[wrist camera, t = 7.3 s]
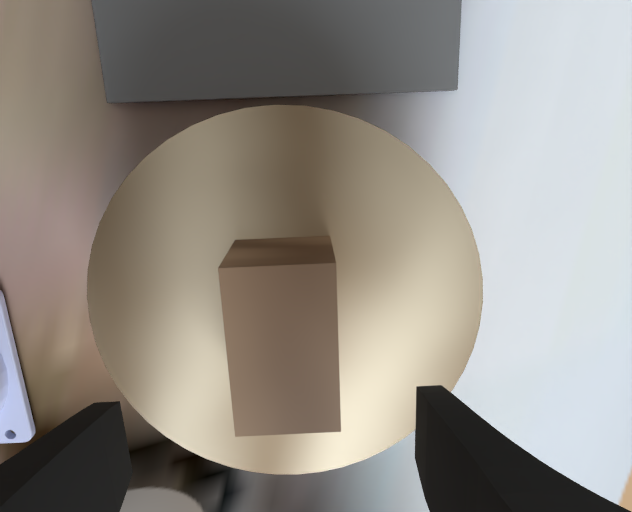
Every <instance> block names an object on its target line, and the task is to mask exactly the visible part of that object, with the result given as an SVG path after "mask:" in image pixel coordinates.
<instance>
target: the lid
mask: <svg viewBox="0 0 632 512" xmlns="http://www.w3.org/2000/svg"><path fill="white" fill-rule="evenodd" d="M87 300H88V309H89V317H90V323H91V327H92V330H93V334H94V338H95V342H96V345H97V347H98V350H99V352H100V355H101V357H102V360H103V362H104V364H105V366H106V368H107V370H108V372H109V373H110V375H111V377H112V379H113V380H114V382H115V384H116V386H117V387H118V388H119V390H120V391H121V392H122V394H123V395H124V396H125V398H126V399H127V400H128V402H129V403H130V404H131V405H132V406H133V407H134V408H135V409H136V410H137V412H138V413H139V414H140V415H141V416H142V417H143V418H144V419H145V420H146V421H147V422H148V423H150V424H151V425H152V426H153V427H155V428H156V429H157V430H158V431H160V432H161V433H162V434H163V435H165V436H166V437H167V438H169V439H171V440H172V441H174V442H175V443H177V444H179V445H180V446H182V447H183V448H185V449H187V450H189V451H191V452H193V453H195V454H197V455H199V456H201V457H204V458H206V459H208V460H211V461H214V462H217V463H220V464H223V465H225V466H228V467H233V468H237V469H241V470H246V471H250V472H258V473H267V474H306V473H316V472H323V471H327V470H332V469H336V468H341V467H345V466H347V465H350V464H353V463H356V462H359V461H362V460H365V459H367V458H369V457H371V456H374V455H376V454H378V453H380V452H382V451H384V450H386V449H388V448H389V447H391V446H393V445H394V444H396V443H397V442H399V441H401V440H402V439H404V438H405V437H407V436H408V435H409V434H410V433H412V432H413V431H414V430H415V429H416V386H433V385H442V386H443V387H444V388H446V389H447V390H448V391H450V392H451V391H452V390H453V388H454V386H455V385H456V383H457V381H458V380H459V378H460V376H461V374H462V373H463V371H464V369H465V367H466V364H467V362H468V360H469V357H470V355H471V353H472V350H473V348H474V344H475V341H476V337H477V333H478V330H479V326H480V319H481V311H482V304H483V278H482V271H481V264H480V257H479V252H478V249H477V246H476V242H475V239H474V235H473V232H472V229H471V227H470V225H469V223H468V220H467V218H466V216H465V214H464V212H463V209H462V207H461V205H460V204H459V202H458V201H457V199H456V198H455V196H454V195H453V193H452V191H451V190H450V188H449V187H448V185H447V184H446V183H445V182H444V180H443V179H442V178H441V177H440V176H439V175H438V174H437V172H436V171H435V170H434V169H433V168H432V167H431V165H430V164H429V163H427V162H426V161H425V160H424V159H423V158H422V157H421V156H419V155H418V154H417V153H416V152H415V151H414V150H413V149H411V148H410V147H409V146H408V145H406V144H405V143H403V142H402V141H400V140H399V139H397V138H396V137H394V136H392V135H391V134H389V133H388V132H386V131H385V130H382V129H380V128H378V127H376V126H374V125H372V124H370V123H368V122H365V121H363V120H361V119H359V118H355V117H352V116H349V115H346V114H343V113H339V112H336V111H333V110H328V109H322V108H316V107H310V106H304V105H267V106H258V107H249V108H243V109H239V110H235V111H231V112H227V113H223V114H219V115H216V116H214V117H211V118H209V119H207V120H204V121H202V122H199V123H197V124H194V125H192V126H190V127H188V128H187V129H185V130H183V131H181V132H180V133H178V134H176V135H175V136H173V137H171V138H169V139H168V140H166V141H165V142H164V143H162V144H161V145H160V146H159V147H157V148H156V149H155V150H154V151H152V152H151V153H150V154H149V155H147V156H146V157H145V158H144V159H143V160H142V161H141V162H140V163H139V164H138V165H137V166H136V168H135V169H134V170H133V171H132V172H131V173H130V174H129V175H128V176H127V177H126V179H125V180H124V181H123V183H122V184H121V186H120V187H119V189H118V190H117V192H116V193H115V194H114V196H113V197H112V199H111V201H110V203H109V205H108V207H107V209H106V211H105V213H104V215H103V217H102V219H101V221H100V223H99V226H98V229H97V232H96V235H95V238H94V241H93V244H92V249H91V254H90V260H89V266H88V276H87Z"/></svg>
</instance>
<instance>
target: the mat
mask: <svg viewBox="0 0 632 512" xmlns="http://www.w3.org/2000/svg"><path fill="white" fill-rule="evenodd" d="M91 1H92V7H93V14H94V20H95V27H96V34H97V40H98V47H99V53H100V60H101V66H102V73H103V80H104V86H105V93H106V99H107V103H131V102H158V101H186V100H213V99H240V98H267V97H295V96H322V95H349V94H376V93H403V92H431V91H454V90H457V89H458V67H459V45H460V23H461V1H462V0H91Z"/></svg>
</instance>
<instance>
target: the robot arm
mask: <svg viewBox="0 0 632 512" xmlns="http://www.w3.org/2000/svg"><path fill="white" fill-rule="evenodd" d="M10 430H12V431H14V432H15V433H16V434H14V433H12V432H11V431H10ZM34 434H35V426H34V421H33V417H32V413H31V409H30V405H29V400H28V396H27V392H26V388H25V383H24V379H23V375H22V371H21V367H20V362H19V358H18V354H17V350H16V345H15V341H14V337H13V333H12V328H11V324H10V320H9V316H8V312H7V307H6V303H5V299H4V295H3V293H2V291H1V290H0V443H18V442H27V441H29V440H30V439H31V438H32V437H33V436H34ZM415 460H416V464H417V468H418V472H419V476H420V481H421V484H422V488H423V492H424V496H425V499H426V502H427V505H428V508H429V510H430V512H631V511H629V510H627V509H625V508H623V507H621V506H619V505H617V504H615V503H613V502H611V501H609V500H607V499H605V498H603V497H601V496H599V495H597V494H595V493H594V492H592V491H590V490H588V489H586V488H584V487H583V486H581V485H579V484H578V483H576V482H574V481H572V480H571V479H569V478H567V477H566V476H564V475H562V474H561V473H559V472H557V471H556V470H554V469H552V468H551V467H549V466H548V465H546V464H544V463H543V462H541V461H540V460H538V459H537V458H535V457H534V456H532V455H531V454H530V453H528V452H527V451H525V450H524V449H522V448H521V447H519V446H518V445H517V444H515V443H514V442H512V441H511V440H510V439H508V438H507V437H506V436H504V435H503V434H502V433H500V432H499V431H498V430H496V429H495V428H494V427H492V426H491V425H490V424H489V423H487V422H486V421H485V420H484V419H482V418H481V417H480V416H479V415H477V414H476V413H475V412H474V411H472V410H471V409H470V408H469V407H468V406H466V405H465V404H464V403H463V402H462V401H460V400H459V399H458V398H457V397H456V396H454V395H453V394H452V393H451V392H450V391H448V390H447V389H446V388H444V387H443V386H442V385H433V386H416V431H415ZM132 473H133V472H132V466H131V461H130V455H129V450H128V444H127V439H126V433H125V428H124V422H123V417H122V411H121V406H120V402H100V403H93V404H92V405H90V406H88V407H86V408H85V409H83V410H81V411H80V412H78V413H77V414H75V415H74V416H72V417H71V418H69V419H68V420H66V421H65V422H63V423H62V424H60V425H59V426H57V427H56V428H54V429H53V430H51V431H50V432H48V433H47V434H46V435H44V436H43V437H41V438H40V439H38V440H37V441H35V442H34V443H32V444H31V445H29V446H28V447H26V448H25V449H23V450H22V451H20V452H19V453H17V454H16V455H14V456H13V457H11V458H10V459H8V460H7V461H5V462H3V463H2V464H0V512H119V511H120V509H121V506H122V503H123V500H124V497H125V495H126V491H127V488H128V485H129V482H130V479H131V476H132Z"/></svg>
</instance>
